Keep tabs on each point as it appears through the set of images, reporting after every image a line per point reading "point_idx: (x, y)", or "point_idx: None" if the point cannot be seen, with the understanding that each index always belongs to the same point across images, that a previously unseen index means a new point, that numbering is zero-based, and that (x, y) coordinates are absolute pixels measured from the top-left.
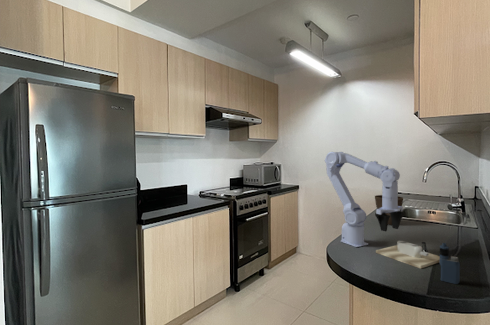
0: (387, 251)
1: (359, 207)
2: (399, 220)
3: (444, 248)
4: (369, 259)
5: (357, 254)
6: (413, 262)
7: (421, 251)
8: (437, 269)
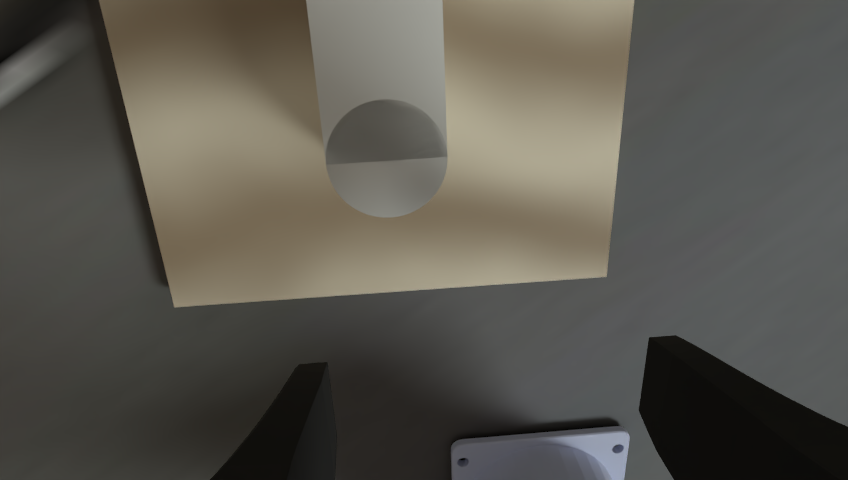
0: (529, 203)
1: None
2: (274, 475)
3: None
4: (825, 164)
5: (784, 301)
6: None
7: None
8: None
